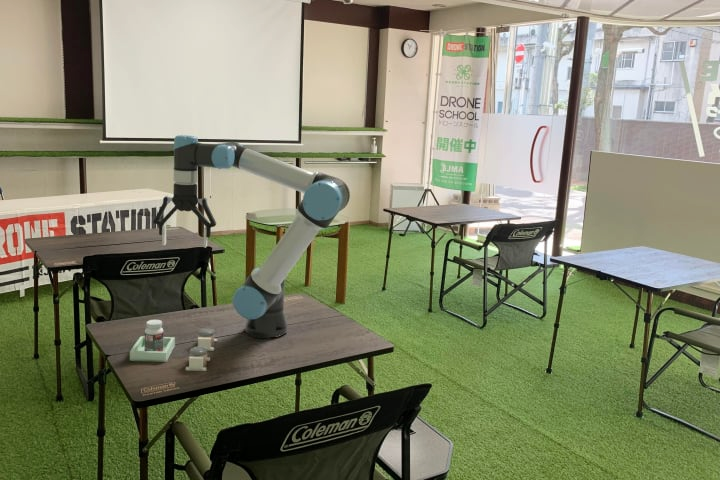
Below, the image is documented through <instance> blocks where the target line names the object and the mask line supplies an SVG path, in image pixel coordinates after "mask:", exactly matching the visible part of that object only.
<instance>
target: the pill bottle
mask: <svg viewBox="0 0 720 480" xmlns="http://www.w3.org/2000/svg"><path fill="white" fill-rule="evenodd" d="M162 326H163V321H162V320H160V319H150V320H148V321H146V328H145V329H144V336H145V351H163V337H164V329H163V327H162Z"/></svg>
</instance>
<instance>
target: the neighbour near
mask: <svg viewBox="0 0 720 480" xmlns="http://www.w3.org/2000/svg"><path fill="white" fill-rule="evenodd" d="M189 357H203V367H207V362H208V361H207V358H208V351H207V349H206V348H204V347H198V346H194V347H191V348H190V349H189Z"/></svg>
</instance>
